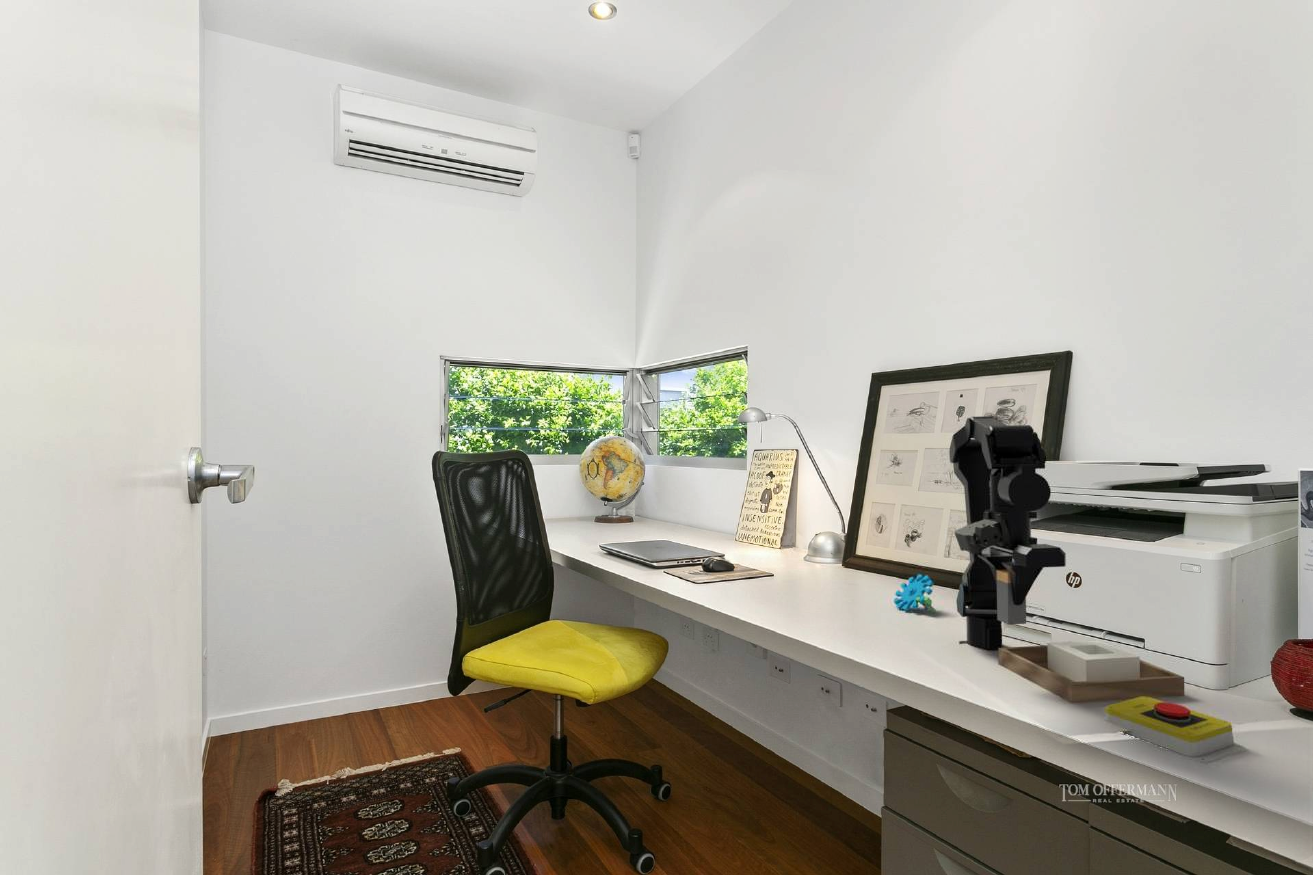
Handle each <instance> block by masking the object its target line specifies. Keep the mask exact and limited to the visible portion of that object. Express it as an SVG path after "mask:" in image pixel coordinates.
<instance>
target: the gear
mask: <svg viewBox="0 0 1313 875" xmlns="http://www.w3.org/2000/svg"><path fill="white" fill-rule="evenodd" d="M899 585H900V587H901V589H902V590H903V591H902V592H901V591H900V589H898V590H896V591H895V593H894V595H895V596H896V597H895V598H894V599H893V603H894V604H895V606H896V608H897V609H898V610H901V611H902V609H903V610H904V612H909V611H910V608H912V609H914V610H915V609H918V608H919V604H920V605H922V607H924V608H925V609H929V610H930V611H931V612H932V613H933V614H936V613H937V610H936V608H934V607H933V605H932V602H933V600H932V599H931V598H930V597H929V596H931V594H932V593H933V589H932V587H934V581H933V580H931V578H930V577H929V575H927V574H926V575H922V574H917V575H916V578H915V577H914V576H911V577H909V578H908V584H907V583H906V582H902V584H899ZM925 593H926V594H927V595H929V596H924V595H925ZM899 597H900V598H899Z"/></svg>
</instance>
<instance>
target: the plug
mask: <svg viewBox="0 0 1313 875" xmlns="http://www.w3.org/2000/svg"><path fill="white" fill-rule="evenodd" d="M997 620H999V621H1001V622H1002V623H1004V624H1006V625H1027V597H1026V598H1025V600H1024V602H1023V603H1022V605H1014V602H1013V596H1012V588H1011V579H1010V572H1009V571H1008V570H997Z"/></svg>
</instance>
